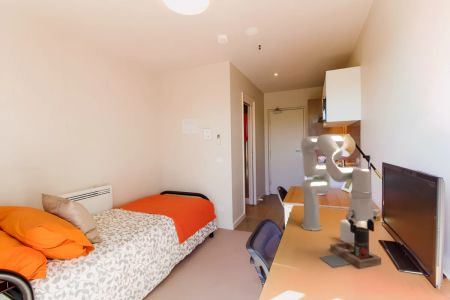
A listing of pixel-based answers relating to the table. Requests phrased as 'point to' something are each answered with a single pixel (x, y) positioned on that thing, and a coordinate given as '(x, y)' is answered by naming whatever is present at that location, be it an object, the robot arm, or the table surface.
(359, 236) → the deodorant
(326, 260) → the mat
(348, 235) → the photo printer
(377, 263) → the well board
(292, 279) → the table surface
